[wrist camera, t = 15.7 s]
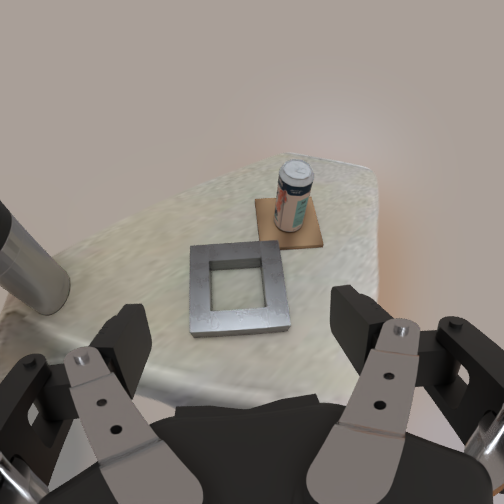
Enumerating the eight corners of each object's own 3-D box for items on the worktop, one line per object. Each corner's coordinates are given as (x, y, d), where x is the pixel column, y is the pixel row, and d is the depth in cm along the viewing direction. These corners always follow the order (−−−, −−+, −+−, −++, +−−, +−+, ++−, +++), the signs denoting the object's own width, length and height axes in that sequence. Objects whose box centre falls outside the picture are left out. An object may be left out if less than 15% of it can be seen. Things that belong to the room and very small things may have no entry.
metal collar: (193, 337, 39) (189, 332, 36) (193, 255, 45) (190, 245, 42) (287, 331, 39) (290, 325, 37) (276, 250, 46) (278, 239, 43)
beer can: (279, 206, 49) (285, 153, 39) (305, 215, 48) (318, 162, 38) (269, 228, 47) (275, 175, 36) (298, 237, 46) (310, 185, 36)
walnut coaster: (260, 251, 46) (260, 248, 45) (254, 201, 51) (255, 198, 50) (322, 247, 46) (323, 244, 45) (310, 199, 51) (311, 196, 50)
